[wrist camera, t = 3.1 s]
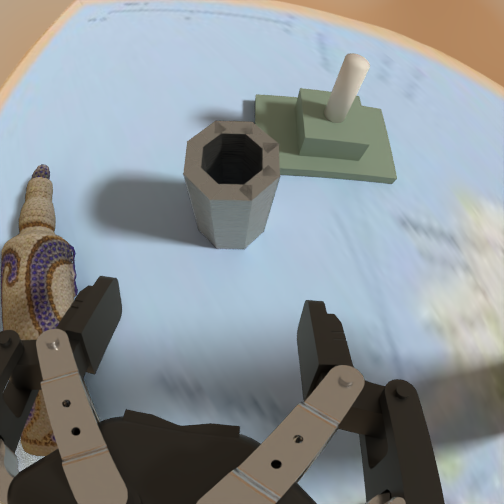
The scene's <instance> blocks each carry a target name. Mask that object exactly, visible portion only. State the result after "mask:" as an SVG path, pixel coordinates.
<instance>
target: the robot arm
mask: <svg viewBox="0 0 504 504" xmlns="http://www.w3.org/2000/svg"><path fill="white" fill-rule="evenodd" d="M121 314H122V303H121V297H120V290H119V283H118V280H117V278H112V277H105V276H100V277H99V278H98V279H97V281H96V282H95V284H94V285H93V286H87V287H86V288H85V289H83V290H82V291H80V292H79V294H78V295H77V297H76V298H75V301H73V303H72V304H71V306H70V307H69V309H68V310H67V312H66V313H65V315H64V316H63V318H62V319H61V321H60V322H59V324H58V325H57V327H56V329H50V330H47V331H45V332H43V333H42V334H41V335H40V336H39V337H38V339H37V340H21V339H20V337H19V334H18V333H17V332H16V331H14V330H4V331H2V332H0V504H317V503H316V502H315V501H314V500H313V499H312V498H311V497H310V496H309V495H308V494H307V493H306V492H305V491H304V490H303V489H302V488H301V486H300V485H299V484H298V482H299V480H300V479H301V478H302V477H303V475H304V474H305V473H306V472H307V470H308V469H309V468H310V466H311V465H312V464H313V462H314V461H315V460H316V458H317V457H318V456H319V454H320V453H321V452H322V450H323V449H324V448H325V446H326V445H327V444H328V442H329V441H330V440H331V438H332V437H333V435H334V434H335V432H336V431H337V430H338V429H342V430H346V431H350V432H354V433H358V434H359V437H360V445H361V453H362V462H363V471H364V481H365V491H366V503H365V504H445V503H444V498H443V493H442V488H441V483H440V478H439V474H438V469H437V465H436V460H435V456H434V452H433V448H432V444H431V440H430V436H429V432H428V429H427V425H426V421H425V418H424V414H423V411H422V407H421V404H420V400H419V397H418V394H417V391H416V389H415V388H414V387H413V386H412V385H411V384H410V383H408V382H407V381H404V380H399V379H396V380H392V381H390V382H388V383H387V385H386V386H382V385H378V384H374V383H370V382H368V381H365V380H364V378H363V375H362V374H361V373H360V372H359V371H358V370H357V369H355V368H354V367H353V364H352V360H351V356H350V352H349V349H348V345H347V341H346V338H345V334H344V330H343V327H342V323H341V322H340V320H339V319H338V318H337V317H336V316H335V314H327V312H326V308H325V304H324V302H323V301H312V300H306V301H305V303H304V307H303V311H302V314H301V318H300V322H299V326H298V331H297V345H298V354H299V363H300V372H301V381H302V390H303V400H304V403H302V402H300V403H299V404H298V405H297V406H296V407H295V408H294V409H293V410H292V412H291V413H290V414H289V415H288V416H287V417H286V418H285V419H284V420H283V422H282V423H281V424H280V425H279V426H278V427H277V428H276V429H275V430H274V431H273V432H272V433H271V434H270V436H269V437H268V438H267V439H266V440H265V441H264V442H263V443H262V444H260V443H259V442H257V441H255V440H254V439H252V438H249V437H247V436H245V435H242V434H239V433H240V426H231V425H220V424H211V423H210V424H200V425H187V426H180V425H176V424H174V423H171V422H169V421H166V420H164V419H162V418H159V417H157V416H154V415H152V414H146V413H141V412H136V411H132V410H127V409H126V410H125V414H124V417H115V418H110V419H106V420H104V421H101V422H100V420H99V417H98V415H97V413H96V410H95V408H94V405H93V403H92V400H91V398H90V395H89V392H88V390H87V387H86V384H85V381H84V379H83V377H84V375H85V373H86V372H88V373H92V374H95V373H96V371H97V369H98V366H99V364H100V362H101V360H102V357H103V355H104V353H105V351H106V349H107V346H108V344H109V342H110V340H111V338H112V336H113V333H114V331H115V329H116V327H117V325H118V323H119V321H120V318H121ZM9 379H10V380H9ZM8 380H9V382H8ZM7 382H8V384H7ZM6 384H7V386H6ZM5 386H6V388H5ZM4 388H5V390H4ZM39 390H42V392H43V396H44V400H45V404H46V408H47V412H48V416H49V419H50V423H51V426H52V430H53V433H54V436H55V439H56V443H57V446H58V449H56V450H55V451H53V452H52V453H50V454H48V455H47V456H45V457H43V458H42V459H40V460H39V461H37V462H35V463H34V464H32V465H30V466H29V467H27V468H25V469H24V470H22V471H21V472H19V470H18V459H17V456H16V455H15V451H16V448H17V445H18V442H19V440H20V437H21V434H22V432H23V429H24V426H25V424H26V421H27V419H28V416H29V414H30V411H31V409H32V406H33V404H34V402H35V399H36V397H37V394H38V392H39ZM3 391H4V392H3Z"/></svg>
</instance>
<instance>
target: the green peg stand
mask: <svg viewBox="0 0 504 504" xmlns="http://www.w3.org/2000/svg"><path fill="white" fill-rule="evenodd" d="M369 67H370V64H369V62H368V61H367V60H366V59H365V58H364V57H362V56H360V55H358V54H347V55H346V56H345V59H344V61H343V64H342V67H341V69H340V72H339V74H338V77H337V80H336V82H335V85H334V87H333V90H332V92H327V91H320V90H311V89H302V88H300V91H299V95H298V98H297V97H285V96H272V95H256V98H255V125H257V126H258V127H259V128H260V129H262V130H263V131H264V132H265V133H266V134H268V135H269V136H270V137H271V138H272V139H274V140H275V141H276V142H277V143H279V164H280V175H295V176H311V177H324V178H337V179H348V180H359V181H369V182H379V183H388V184H392V183H393V182H394V181H395V180H396V179H397V176H396V171H395V166H394V161H393V156H392V152H391V147H390V143H389V139H388V135H387V130H386V126H385V122H384V119H383V115H382V111H381V109H377V108H372V107H366V106H361V102H360V98H359V96H356V95H357V93H358V90H359V88H360V86H361V84H362V82H363V80H364V78H365V76H366V74H367V72H368V70H369Z"/></svg>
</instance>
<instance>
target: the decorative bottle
mask: <svg viewBox="0 0 504 504" xmlns="http://www.w3.org/2000/svg"><path fill="white" fill-rule="evenodd" d="M49 179H50V171H49V167H48V166H46V165H43V164H42V165H40V166H38V167H37V169H36V170H35V171H34V173H33V175H32V179H31V180H30V181H29V182H28V185H27V188H26V196H25V203H24V205H23V207H22V210H21V213H20V217H19V232H20V233H19V234H18V235H17V236H15V237H13V238H12V239H10V240H9V241H7V242H6V243H5V245H4V247H3V249H2V265H1V304H2V322H3V331H4V330H14V331H16V332H17V333H18V334H19V337H20V339H21V340H37V339H38V337H39V336H40V335H41V334H42V333H43V332H45V331H47V330H50V329H56V327H57V325H58V324H59V322H60V321H61V319H62V318H63V316H64V315H65V313H66V312H67V310H68V309H69V307H70V306H71V304H72V303H73V301H74V297H75V296H76V295H77V291H78V289H77V286H76V282H75V279H76V271H75V262H74V258H75V254H76V253H75V250H74V247H73V246H71V245H69V243H68V242H67V241H65V240H64V239H63V238H62V237H60V236H58V235H55V233H54V231H55V223H56V219H55V212H54V207H53V203H52V194H53V185H52V182H51V181H50V180H49ZM72 252H73V256H72ZM72 261H73V263H72ZM72 276H73V277H72ZM9 380H10V379H9ZM21 444H22V447H23V449H24V451H25V452H26V453H29V454H31V455H36V456H47V455H48V454H50V453H52V452H53V451H55V450H56V449H58V446H57V443H56V439H55V436H54V433H53V430H52V426H51V423H50V419H49V416H48V412H47V408H46V404H45V400H44V396H43V392H42V390H39V392H38V394H37V397H36V399H35V402H34V404H33V406H32V409H31V411H30V414H29V416H28V419H27V421H26V424H25V426H24V429H23V432H22V434H21Z"/></svg>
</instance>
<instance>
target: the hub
mask: <svg viewBox="0 0 504 504" xmlns="http://www.w3.org/2000/svg"><path fill="white" fill-rule="evenodd" d="M183 175H184V179H185V182H186V186H187V190H188V194H189V197H190V201H191V205H192V208H193V212H194V215H195V219H196V223H197V226H198V230H199V231H200V232H201V233H202V234H203V235H204V236H205V237H206V238H207V239H208V240H209V241H210V242H211V243H212V244H213V245H214V246H215V247H216V249H245V248H246V247H247V246H248V245H250V244H251V243H252V242H253V241H254V240H255V239H256V238H257V237H258V236H259V235H260V234H261V233H263V232H264V229H265V226H266V223H267V219H268V216H269V213H270V209H271V206H272V203H273V199H274V196H275V192H276V189H277V186H278V182H279V179H280V164H279V143H277V142H276V141H275V140H274V139H272V138H271V137H270V136H269V135H268V134H266V133H265V132H264V131H263V130H262V129H260V128H259V127H258V126H257V125H255V124H254V123H253V122H242V121H215V122H213V123H212V124H211V125H209V126H208V127H206V128H205V129H204V130H202V131H201V132H200V133H198V134H197V135H195V136H194V137H193V138H191V139H190V140H189V141H187V149H186V157H185V165H184V173H183Z"/></svg>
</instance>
